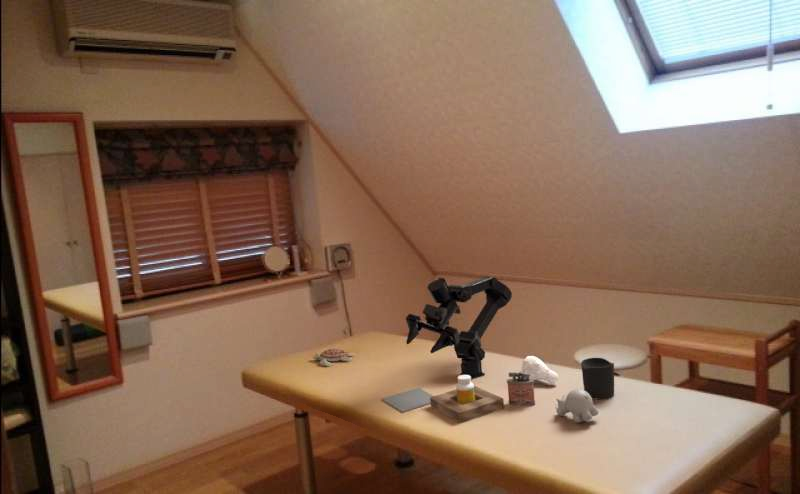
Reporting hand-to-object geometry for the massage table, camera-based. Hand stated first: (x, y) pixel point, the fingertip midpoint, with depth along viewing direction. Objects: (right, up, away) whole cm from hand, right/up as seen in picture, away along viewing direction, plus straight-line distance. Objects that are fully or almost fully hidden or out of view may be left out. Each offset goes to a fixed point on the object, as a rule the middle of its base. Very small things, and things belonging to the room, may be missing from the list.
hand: (418, 347), depth 189 cm
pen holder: (+55, -13, -7) cm, 57 cm away
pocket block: (+14, -17, -7) cm, 23 cm away
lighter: (+31, -16, -8) cm, 36 cm away
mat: (-3, -17, +3) cm, 18 cm away
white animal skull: (+41, -13, +7) cm, 43 cm away
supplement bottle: (+14, -17, -7) cm, 23 cm away
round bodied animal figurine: (+43, -16, -22) cm, 51 cm away
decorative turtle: (-33, -15, +55) cm, 66 cm away
